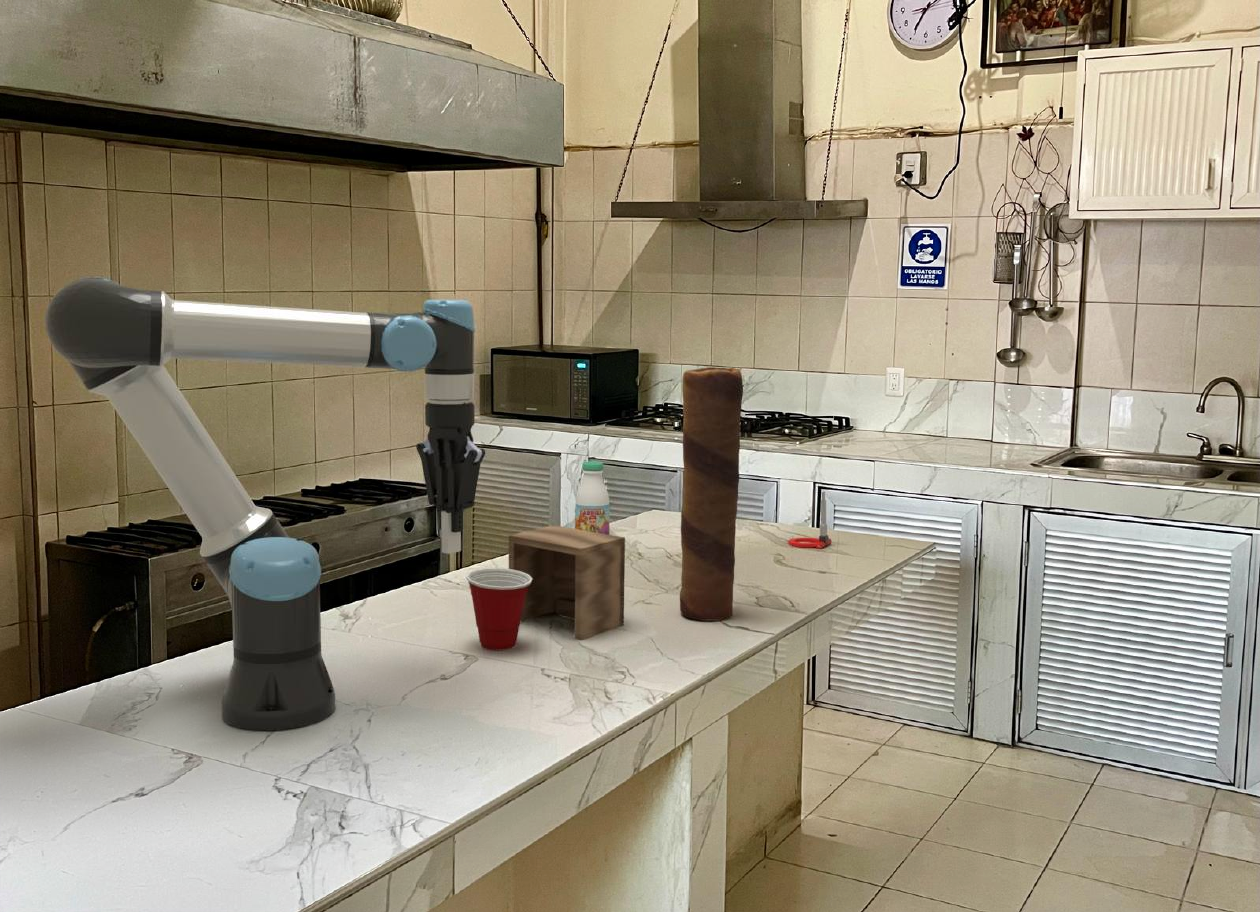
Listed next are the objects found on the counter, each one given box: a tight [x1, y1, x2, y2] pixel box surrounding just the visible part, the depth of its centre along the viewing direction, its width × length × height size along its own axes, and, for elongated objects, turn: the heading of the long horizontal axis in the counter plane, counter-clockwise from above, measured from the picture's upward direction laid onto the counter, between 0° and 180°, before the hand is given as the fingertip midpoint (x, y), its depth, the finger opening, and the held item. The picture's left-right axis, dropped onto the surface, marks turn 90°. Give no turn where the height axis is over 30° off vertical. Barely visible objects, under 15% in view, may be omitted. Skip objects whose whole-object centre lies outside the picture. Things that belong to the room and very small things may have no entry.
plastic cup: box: [465, 567, 532, 651], centre depth 199 cm, size 11×11×12 cm
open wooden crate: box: [508, 524, 626, 641], centre depth 212 cm, size 12×16×16 cm
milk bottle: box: [574, 461, 611, 535], centre depth 270 cm, size 8×8×20 cm
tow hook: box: [787, 490, 833, 550], centre depth 281 cm, size 8×13×9 cm
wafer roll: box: [679, 366, 744, 621], centre depth 217 cm, size 10×11×45 cm
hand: (451, 551), depth 188 cm, fingers closed
